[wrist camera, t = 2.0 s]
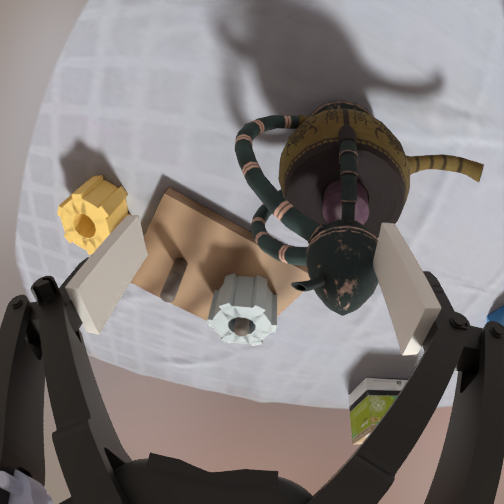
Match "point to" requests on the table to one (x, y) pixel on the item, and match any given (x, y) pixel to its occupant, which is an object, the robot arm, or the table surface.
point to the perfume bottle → (497, 316)
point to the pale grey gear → (243, 309)
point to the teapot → (335, 195)
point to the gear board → (206, 259)
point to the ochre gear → (93, 212)
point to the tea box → (371, 404)
